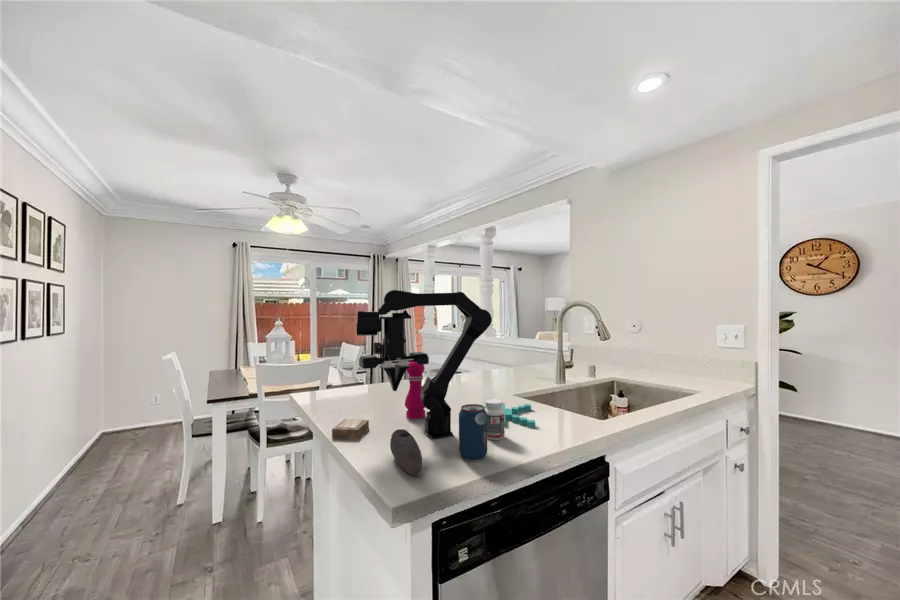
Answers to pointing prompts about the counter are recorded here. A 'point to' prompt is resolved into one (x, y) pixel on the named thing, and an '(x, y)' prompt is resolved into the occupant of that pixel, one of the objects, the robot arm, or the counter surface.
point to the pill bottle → (495, 419)
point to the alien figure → (516, 418)
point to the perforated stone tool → (406, 451)
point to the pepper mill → (415, 391)
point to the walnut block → (350, 429)
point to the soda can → (473, 432)
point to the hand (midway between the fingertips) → (394, 390)
